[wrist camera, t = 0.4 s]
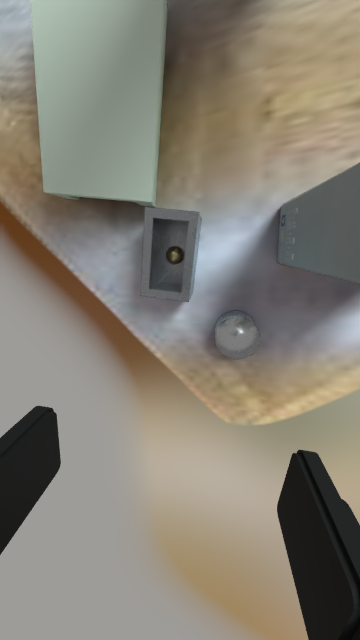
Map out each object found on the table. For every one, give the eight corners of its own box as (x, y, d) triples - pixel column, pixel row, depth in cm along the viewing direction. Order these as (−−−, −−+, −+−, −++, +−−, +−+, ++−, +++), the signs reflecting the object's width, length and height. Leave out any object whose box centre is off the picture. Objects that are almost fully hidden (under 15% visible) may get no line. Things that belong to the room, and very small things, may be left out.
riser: (53, 8, 27) (28, -31, 23) (172, 9, 26) (165, -32, 22) (62, 198, 33) (43, 192, 29) (158, 207, 32) (151, 201, 28)
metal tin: (217, 308, 35) (218, 315, 31) (258, 313, 34) (264, 321, 31) (212, 344, 37) (212, 355, 33) (250, 350, 36) (255, 362, 33)
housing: (158, 215, 32) (144, 206, 26) (201, 219, 32) (199, 211, 25) (153, 286, 35) (140, 295, 29) (193, 291, 35) (188, 301, 28)
